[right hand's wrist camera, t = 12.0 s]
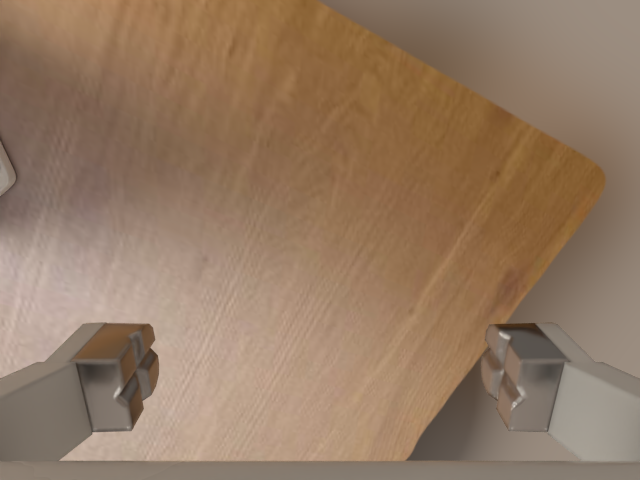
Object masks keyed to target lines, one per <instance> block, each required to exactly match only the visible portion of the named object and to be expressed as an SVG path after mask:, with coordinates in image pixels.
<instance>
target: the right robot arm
mask: <svg viewBox="0 0 640 480" xmlns="http://www.w3.org/2000/svg"><path fill="white" fill-rule="evenodd" d="M15 181H16V174H15V171H14V169H13V167H12V164H11V162H10V160H9V158H8V156H7V154H6V152H5V150H4V147H3V145H2V143H1V141H0V196H1V195H2V194H3V193H5V192H6V191H7V190H8V189H9V188H10V187H12V185H13V184H14V183H15ZM154 341H155V336H154V331H153V327H152V326H151V325H150V324H138V323H86V324H83V325H82V326H81V327H80V328H79V329H78V330H77V331H76V332H74V333H73V334H72V335H71V336H70V337H69V338H68V339H67V340H66V341H65V342H64V343H63V344H62V345H61V346H60V347H59V348H58V349H57V350H56V351H55V352H54V353H53V354H52V355H51V356H50V357H49V358H48V359H47V360H46V361H45V362H37V363H34V364H32V365H30V366H28V367H25V368H23V369H21V370H19V371H16V372H14V373H12V374H10V375H7V376H5V377H3V378H0V480H640V379H639V378H637V377H635V376H633V375H630V374H628V373H626V372H624V371H621V370H619V369H617V368H615V367H612V366H610V365H608V364H606V363H603V362H595V361H594V360H593V359H592V358H591V357H590V356H589V355H588V354H587V353H586V352H585V351H584V350H583V349H582V348H581V347H580V346H579V345H578V344H577V343H576V342H575V341H574V340H573V339H572V338H571V337H570V336H569V335H568V334H567V333H566V332H565V331H564V330H563V329H562V328H561V327H560V326H559V325H557V324H555V323H522V324H490V325H489V326H488V328H487V330H486V336H485V341H486V342H487V344H488V345H489V347H490V348H489V349H488V350H487V351H486V352H485V353H484V354H483V355H482V362H481V374H482V380H483V384H484V387H485V389H486V391H487V393H488V395H489V396H491V397H492V398H494V399H495V400H497V401H498V402H497V408H496V409H497V411H498V413H499V415H500V416H501V418H502V420H503V422H504V424H505V425H506V427H507V429H508V431H525V432H548V435H550V436H551V437H552V438H553V439H555V440H556V441H557V442H559V443H560V444H561V445H562V446H564V447H565V448H566V449H567V450H569V451H570V452H571V453H573V454H574V455H575V456H576V457H578V458H579V459H580V460H581V461H59V460H60V459H61V458H63V457H64V456H65V455H66V454H68V453H69V452H70V451H71V450H73V449H74V448H75V447H77V446H78V445H79V444H80V443H82V442H83V441H84V440H85V439H87V438H88V437H89V436H91V435H92V432H114V431H132V429H133V427H134V425H135V424H136V422H137V420H138V418H139V416H140V415H141V413H142V411H143V409H144V408H143V402H142V401H143V400H145V399H146V398H148V397H149V396H151V395H152V393H153V391H154V389H155V387H156V384H157V380H158V375H159V361H158V355H157V354H156V353H155V352H154V351H153V350H152V349H151V348H150V347H151V345H152V344H153V342H154Z"/></svg>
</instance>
